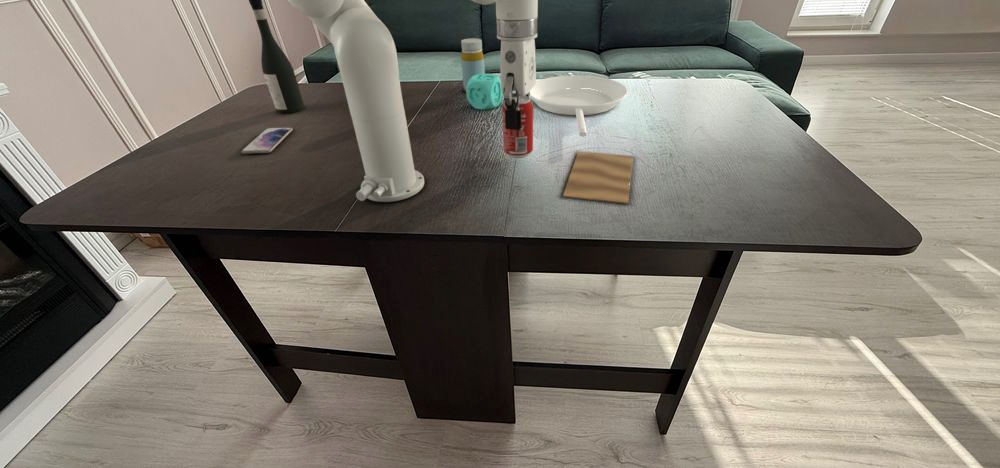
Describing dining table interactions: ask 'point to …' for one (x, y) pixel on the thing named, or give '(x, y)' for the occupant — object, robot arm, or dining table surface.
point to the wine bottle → (277, 67)
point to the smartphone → (267, 140)
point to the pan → (577, 96)
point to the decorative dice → (484, 91)
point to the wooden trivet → (600, 177)
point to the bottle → (471, 59)
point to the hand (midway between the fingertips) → (518, 121)
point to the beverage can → (520, 131)
